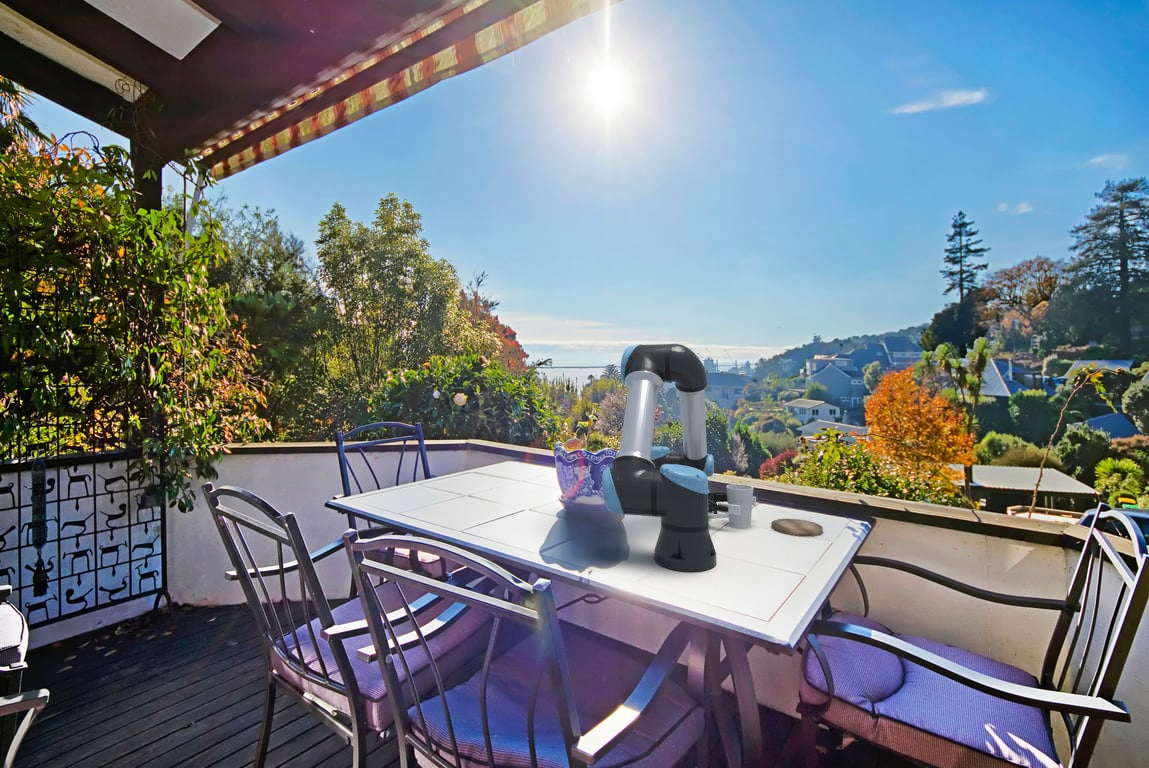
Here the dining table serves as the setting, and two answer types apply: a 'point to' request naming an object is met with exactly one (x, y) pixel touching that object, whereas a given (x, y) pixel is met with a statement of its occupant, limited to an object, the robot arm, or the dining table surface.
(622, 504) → the robot arm
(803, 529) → the disc
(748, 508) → the cup
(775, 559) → the dining table surface
